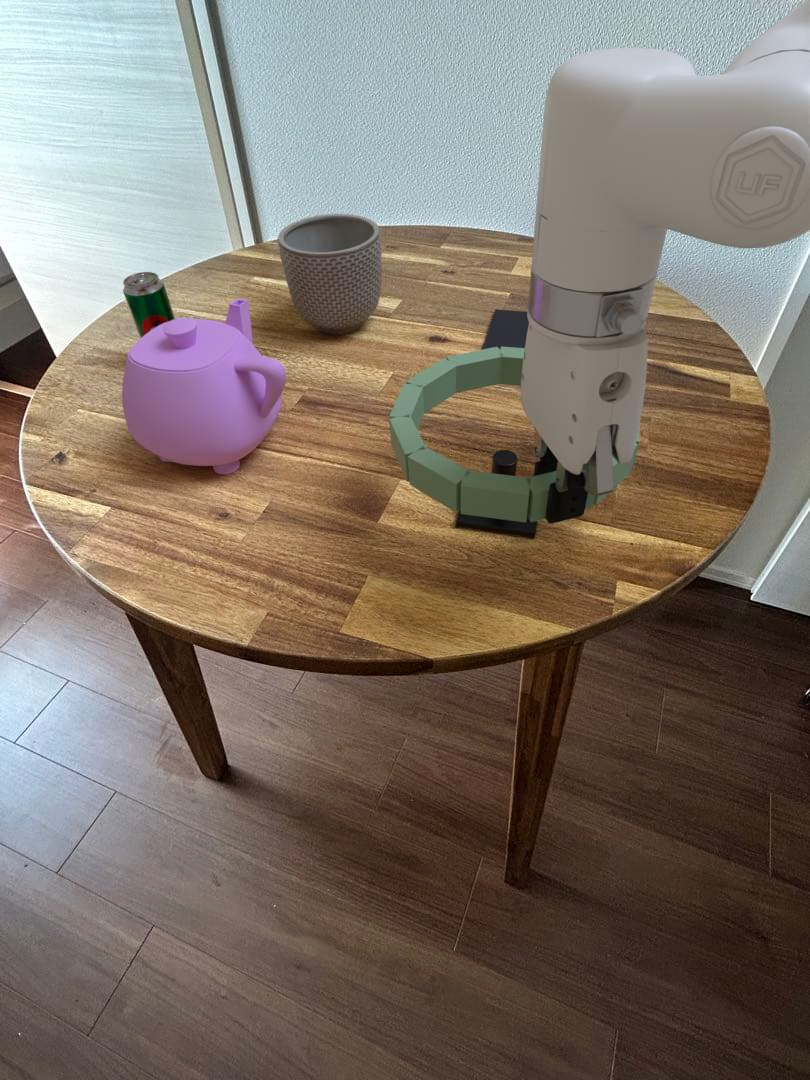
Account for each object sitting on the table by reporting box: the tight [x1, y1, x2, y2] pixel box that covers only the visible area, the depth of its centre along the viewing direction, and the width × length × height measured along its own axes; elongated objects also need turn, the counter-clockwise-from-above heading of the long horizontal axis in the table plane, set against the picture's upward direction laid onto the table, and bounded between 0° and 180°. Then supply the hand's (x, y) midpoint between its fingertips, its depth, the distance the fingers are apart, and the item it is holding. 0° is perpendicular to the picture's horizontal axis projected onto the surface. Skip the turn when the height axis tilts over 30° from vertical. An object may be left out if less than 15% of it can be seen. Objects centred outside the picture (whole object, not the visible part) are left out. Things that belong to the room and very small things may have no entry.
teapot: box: [121, 297, 287, 475], centre depth 73 cm, size 20×20×15 cm
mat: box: [481, 308, 529, 350], centre depth 88 cm, size 18×18×1 cm
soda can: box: [122, 271, 176, 340], centre depth 86 cm, size 5×5×12 cm
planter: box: [277, 213, 383, 335], centre depth 91 cm, size 14×14×13 cm
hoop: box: [388, 347, 641, 522], centre depth 60 cm, size 22×22×3 cm
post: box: [455, 449, 539, 539], centre depth 65 cm, size 8×8×6 cm
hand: (557, 505), depth 54 cm, fingers closed on hoop, 2 cm apart
